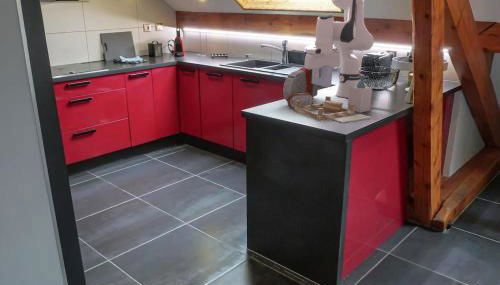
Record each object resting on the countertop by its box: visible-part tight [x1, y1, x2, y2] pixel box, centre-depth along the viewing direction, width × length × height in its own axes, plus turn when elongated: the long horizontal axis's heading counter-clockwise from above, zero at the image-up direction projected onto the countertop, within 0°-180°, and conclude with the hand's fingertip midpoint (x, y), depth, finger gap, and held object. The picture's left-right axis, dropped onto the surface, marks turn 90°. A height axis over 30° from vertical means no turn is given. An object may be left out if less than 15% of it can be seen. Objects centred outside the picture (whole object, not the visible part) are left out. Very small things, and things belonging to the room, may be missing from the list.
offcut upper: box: [322, 100, 343, 110], centre depth 224 cm, size 4×9×3 cm, turn 58°
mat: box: [332, 113, 372, 124], centre depth 213 cm, size 19×7×1 cm, turn 120°
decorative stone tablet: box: [282, 66, 319, 102], centre depth 244 cm, size 19×6×30 cm
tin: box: [286, 93, 315, 110], centre depth 232 cm, size 15×3×8 cm, turn 109°
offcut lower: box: [321, 106, 343, 114], centre depth 225 cm, size 5×11×3 cm, turn 41°
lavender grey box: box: [312, 66, 334, 88], centre depth 215 cm, size 3×12×10 cm, turn 30°
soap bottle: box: [346, 74, 373, 114], centre depth 228 cm, size 9×9×19 cm
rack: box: [294, 95, 355, 122], centre depth 222 cm, size 22×21×6 cm
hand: (321, 76), depth 215 cm, fingers closed on lavender grey box, 3 cm apart
